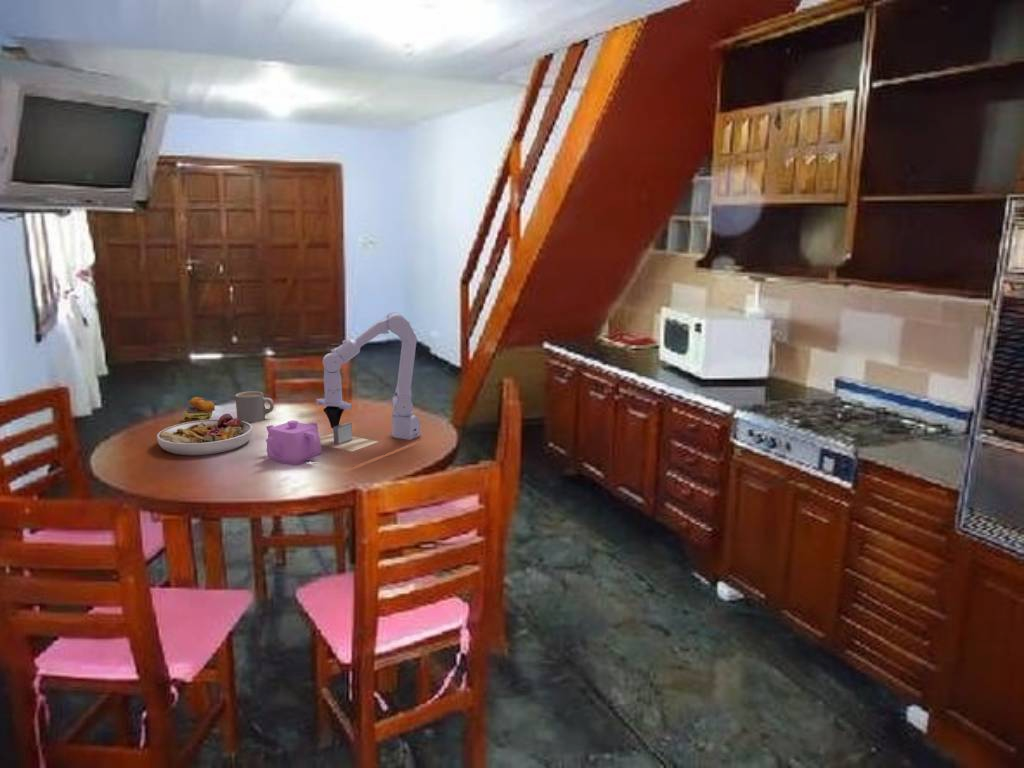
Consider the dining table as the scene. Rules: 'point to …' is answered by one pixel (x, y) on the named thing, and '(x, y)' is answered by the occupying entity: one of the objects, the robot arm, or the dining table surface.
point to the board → (346, 443)
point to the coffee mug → (252, 406)
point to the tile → (342, 433)
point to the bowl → (205, 436)
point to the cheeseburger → (198, 410)
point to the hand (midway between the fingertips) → (334, 427)
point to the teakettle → (293, 442)
